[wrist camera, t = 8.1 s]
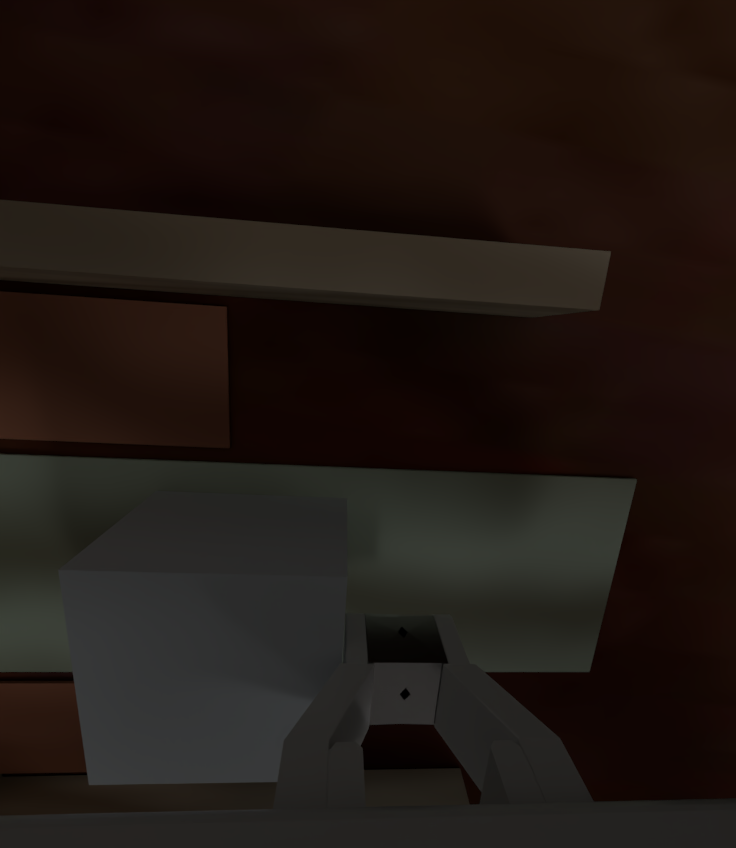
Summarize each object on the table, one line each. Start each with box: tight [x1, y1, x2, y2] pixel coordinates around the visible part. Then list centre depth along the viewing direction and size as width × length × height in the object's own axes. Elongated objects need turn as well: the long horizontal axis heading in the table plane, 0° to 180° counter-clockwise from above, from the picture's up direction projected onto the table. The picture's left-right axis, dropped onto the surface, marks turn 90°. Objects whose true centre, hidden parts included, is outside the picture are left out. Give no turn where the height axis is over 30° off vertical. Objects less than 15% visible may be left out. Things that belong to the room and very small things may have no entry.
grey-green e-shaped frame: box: [0, 200, 637, 815], centre depth 11 cm, size 20×24×3 cm
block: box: [58, 491, 347, 785], centre depth 10 cm, size 6×6×4 cm
